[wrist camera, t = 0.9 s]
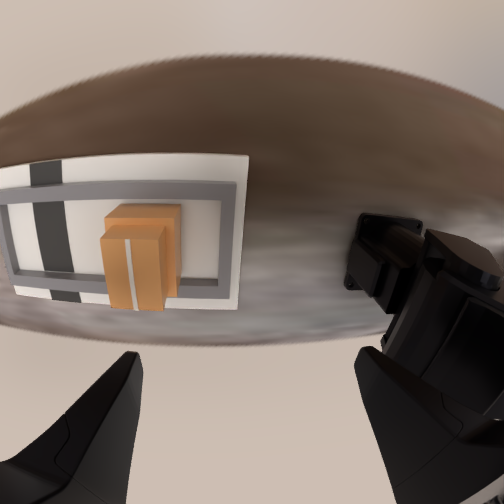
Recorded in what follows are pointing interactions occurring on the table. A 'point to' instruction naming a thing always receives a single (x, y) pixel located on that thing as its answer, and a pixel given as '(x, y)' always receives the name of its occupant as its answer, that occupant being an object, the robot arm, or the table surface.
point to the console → (106, 200)
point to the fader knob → (142, 255)
